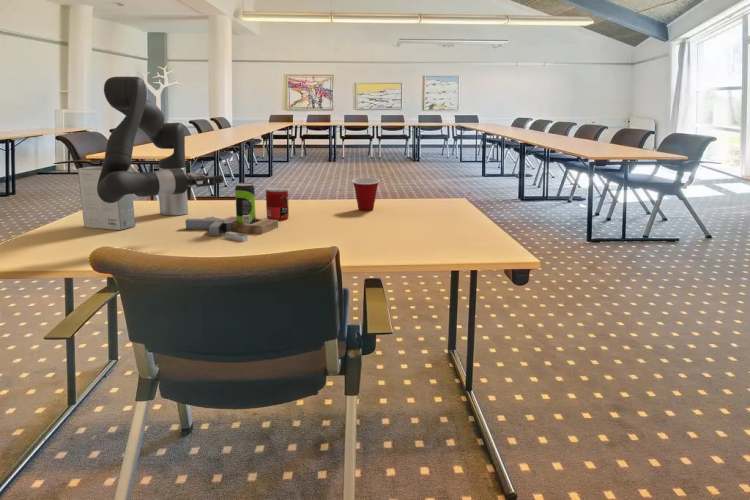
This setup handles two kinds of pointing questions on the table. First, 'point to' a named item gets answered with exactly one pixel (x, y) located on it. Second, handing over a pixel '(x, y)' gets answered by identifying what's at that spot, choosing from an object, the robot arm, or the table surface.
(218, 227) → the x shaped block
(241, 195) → the beverage can
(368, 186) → the plastic cup
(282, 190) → the canned food
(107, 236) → the table surface
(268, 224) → the wooden rectangular frame
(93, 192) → the hard drive box
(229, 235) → the bar
